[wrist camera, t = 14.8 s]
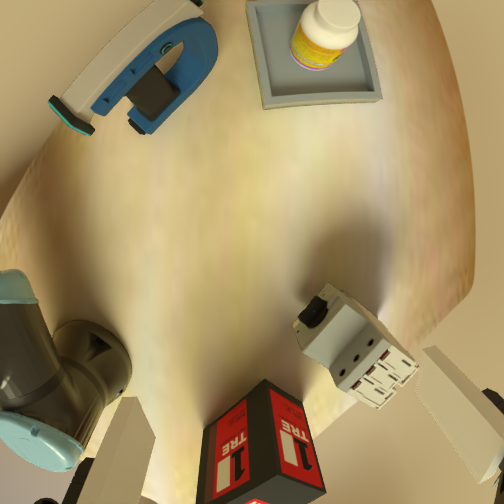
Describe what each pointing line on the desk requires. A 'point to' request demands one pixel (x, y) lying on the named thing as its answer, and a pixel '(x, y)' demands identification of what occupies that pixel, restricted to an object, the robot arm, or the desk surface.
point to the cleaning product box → (260, 453)
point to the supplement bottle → (324, 33)
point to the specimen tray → (301, 79)
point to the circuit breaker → (353, 347)
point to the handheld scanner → (143, 68)
